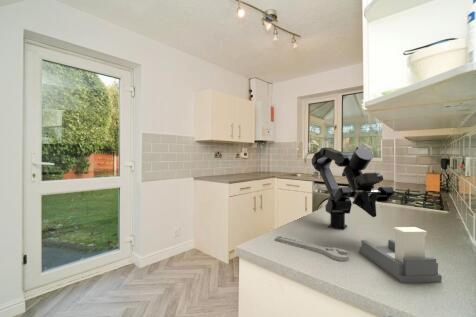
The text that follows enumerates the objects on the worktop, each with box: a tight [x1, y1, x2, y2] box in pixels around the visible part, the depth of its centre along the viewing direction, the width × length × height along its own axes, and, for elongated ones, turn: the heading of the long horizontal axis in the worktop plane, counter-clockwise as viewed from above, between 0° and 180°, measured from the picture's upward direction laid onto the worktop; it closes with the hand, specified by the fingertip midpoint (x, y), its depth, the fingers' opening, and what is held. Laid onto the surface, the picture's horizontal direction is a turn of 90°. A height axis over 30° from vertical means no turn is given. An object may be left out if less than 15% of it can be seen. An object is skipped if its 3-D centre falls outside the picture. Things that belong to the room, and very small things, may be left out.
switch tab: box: [393, 226, 428, 264], centre depth 59 cm, size 5×6×10 cm
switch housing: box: [358, 239, 443, 284], centre depth 65 cm, size 18×10×6 cm, turn 2°
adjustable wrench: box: [275, 235, 350, 262], centre depth 77 cm, size 25×6×2 cm, turn 45°
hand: (374, 216), depth 74 cm, fingers closed
